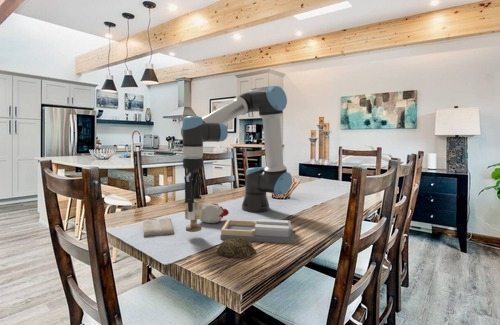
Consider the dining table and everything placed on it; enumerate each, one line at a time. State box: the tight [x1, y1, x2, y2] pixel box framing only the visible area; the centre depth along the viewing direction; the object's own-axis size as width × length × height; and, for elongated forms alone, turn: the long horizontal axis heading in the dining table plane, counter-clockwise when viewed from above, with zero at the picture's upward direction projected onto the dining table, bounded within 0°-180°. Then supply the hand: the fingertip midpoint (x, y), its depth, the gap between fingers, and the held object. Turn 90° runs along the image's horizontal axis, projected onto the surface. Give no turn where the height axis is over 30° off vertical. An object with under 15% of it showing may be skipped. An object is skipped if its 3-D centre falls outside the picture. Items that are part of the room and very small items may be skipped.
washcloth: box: [142, 217, 175, 237], centre depth 122 cm, size 12×18×3 cm, turn 21°
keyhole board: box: [219, 218, 295, 245], centre depth 117 cm, size 28×16×5 cm, turn 84°
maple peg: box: [184, 198, 203, 233], centre depth 111 cm, size 6×6×12 cm
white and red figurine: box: [198, 202, 229, 224], centre depth 133 cm, size 9×11×15 cm
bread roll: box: [216, 238, 257, 259], centre depth 99 cm, size 13×12×5 cm
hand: (193, 217), depth 111 cm, fingers closed on maple peg, 5 cm apart
